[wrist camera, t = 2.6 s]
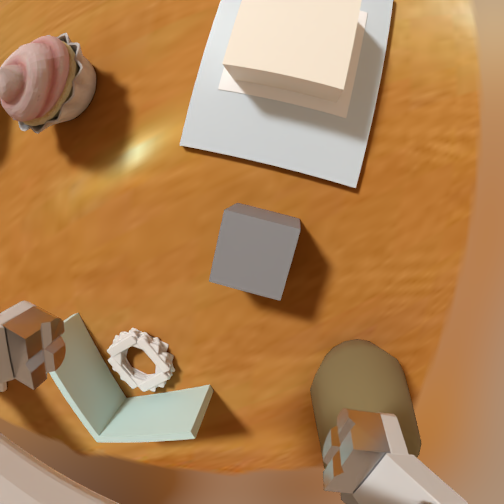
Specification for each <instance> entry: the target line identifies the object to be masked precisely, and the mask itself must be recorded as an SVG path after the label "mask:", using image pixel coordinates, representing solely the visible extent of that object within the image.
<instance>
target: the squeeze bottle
mask: <svg viewBox="0 0 504 504" xmlns="http://www.w3.org/2000/svg"><path fill="white" fill-rule="evenodd" d="M310 391H311V398H312V404H313V409H314V415H315V420H316V425H317V430H318V436H319V441H320V446H321V452H322V457H323V446H324V443H325V440H326V437H327V435H328V433H329V431H330V429H332V428H334V427H335V426H337V417H338V415H339V413H340V411H341V410H342V409H343V408H348V409H354V410H361V411H368V412H375V413H378V412H379V413H389V414H394V415H395V416H396V417H397V419H398V422H399V425H400V428H401V431H402V435H403V438H404V441H405V444H406V447H407V450H408V454H409V455H414V456H415V457H416V458H417V457H418V455H419V452H420V447H421V440H420V435H419V430H418V426H417V421H416V418H415V413H414V409H413V405H412V401H411V397H410V393H409V389H408V386H407V382H406V378H405V375H404V372H403V370H402V368H401V366H400V364H399V362H398V360H397V359H396V358H394V357H393V356H391V355H390V354H388V353H387V352H385V351H384V350H382V349H380V348H379V347H377V346H376V345H374V344H373V343H371V342H370V341H365V340H359V339H355V340H350V341H344V342H343V343H341V344H339V345H337V346H335V347H333V348H332V349H331V351H330V352H329V353H328V354H327V355H326V356H325V358H324V360H323V362H322V363H321V365H320V367H319V369H318V371H317V373H316V375H315V378H314V380H313V383H312V386H311V389H310ZM323 463H324V468H326V467H327V464H326V463H325V462H324V461H323ZM341 500H342V501H343V502H344V503H346V504H358V502H357V501H356V499H355V498H354V496H353V494H351V493H341Z"/></svg>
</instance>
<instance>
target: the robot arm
mask: <svg viewBox="0 0 504 504" xmlns="http://www.w3.org/2000/svg"><path fill="white" fill-rule="evenodd" d="M64 332H65V330H64V322H63V321H62V320H61V318H59V317H57V316H55V315H53V314H51V313H49V312H47V311H45V310H44V309H42V308H40V307H37V306H36V305H34V304H32V303H30V302H28V301H21V302H20V303H18V304H16V305H14V306H12V307H10V308H9V309H7V310H5V311H3V312H1V313H0V392H4V391H5V390H7V383H6V382H7V381H10V380H14V378H15V379H16V380H18V381H20V382H21V383H23V384H25V385H26V386H28V387H30V388H31V389H33V390H35V389H36V388H37V387H38V386H39V385H40V384H41V383H43V382H44V381H45V380H46V379H47V373H49V372H53V371H56V370H57V369H58V368H59V367H60V366H61V364H62V362H63V360H64V358H65V353H66V346H65V343H64V341H63V339H62V337H61V336H62V334H63V333H64ZM323 461H324V462H325V463H326V464H327V467H326V468H325V470H324V471H323V482H324V484H323V485H324V490H325V491H333V492H341V493H351V494H353V496H354V498H355V499H356V501H357V502H358V504H468V503H467V501H466V500H464V499H463V498H462V497H461V496H460V495H459V494H457V493H456V492H455V491H454V490H453V489H452V488H451V487H449V486H448V485H447V484H446V483H445V482H444V481H442V480H441V479H440V478H439V477H438V476H437V475H436V474H434V473H433V472H432V471H431V470H430V469H429V468H428V467H426V466H425V465H424V464H423V463H422V462H421V461H420V460H419V459H417V458H416V457H415V456H414V455H409V454H408V450H407V447H406V444H405V441H404V438H403V435H402V431H401V428H400V425H399V422H398V419H397V417H396V416H395V415H394V414H389V413H379V412H378V413H375V412H368V411H361V410H354V409H348V408H343V409H342V410H341V411H340V413H339V415H338V417H337V426H335V427H334V428H332V429H330V431H329V433H328V435H327V437H326V440H325V443H324V446H323ZM0 504H120V503H118V502H115V501H113V500H111V499H109V498H107V497H104V496H103V495H100V494H98V493H96V492H94V491H92V490H90V489H88V488H86V487H85V486H83V485H81V484H79V483H77V482H75V481H73V480H71V479H70V478H68V477H66V476H64V475H63V474H61V473H59V472H58V471H56V470H54V469H52V468H51V467H49V466H48V465H46V464H45V463H43V462H41V461H40V460H38V459H37V458H35V457H34V456H32V455H31V454H29V453H27V452H26V451H25V450H23V449H22V448H21V447H19V446H17V445H16V444H15V443H14V442H12V441H11V440H9V439H8V438H7V437H5V436H4V435H3V434H2V433H0Z"/></svg>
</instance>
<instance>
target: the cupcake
mask: <svg viewBox="0 0 504 504" xmlns="http://www.w3.org/2000/svg"><path fill="white" fill-rule="evenodd" d="M95 89H96V73H95V70H94V68H93V66H92V65H91V63H90V62H89V61H88V60H87V59H86V58H85V57H84V56H83V55H82V51H81V48H80V44H79V43H72V42H71V40H70V38H69V37H68V35H67V33H63V34H62V35H60V36H58V37H57V38H56V37H53V36H50V35H47V36H42V37H40V38H38V39H36V40H34V41H32V42H31V43H28V44H24V45H22V46H21V47H19V48H18V49H17V50H16V51H15V52H14V53H12V54H11V55H10V56H9V57H8V58H7V60H6V61H5V62H4V63H3V64H2V66H1V67H0V100H1V104H2V106H3V108H4V109H5V111H6V112H7V113H8V114H9V115H10V116H11V117H12V118H13V119H14V120H17V121H18V122H19V128H20V129H21V130H22V131H26V130H28V129H30V128H31V129H32V130H33V131H34V132H35V133H40V132H41V131H43V130H44V129H46V128H48V127H49V126H51V125H54V124H57V123H60V122H65V121H69V120H72V119H74V118H76V117H77V116H79V115H80V114H81V113H82V112H83V111H84V110H85V109H86V108H87V107H88V105H89V104H90V102H91V100H92V98H93V96H94V93H95Z"/></svg>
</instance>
